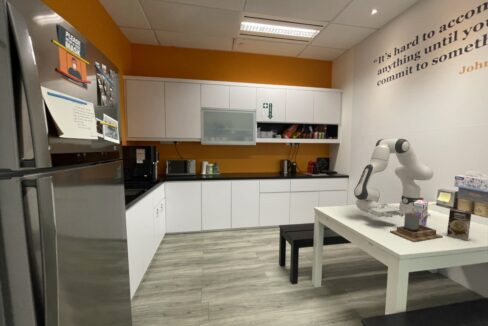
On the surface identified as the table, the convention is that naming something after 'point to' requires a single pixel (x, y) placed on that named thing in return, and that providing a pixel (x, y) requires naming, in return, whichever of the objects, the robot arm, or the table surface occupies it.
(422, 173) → the robot arm
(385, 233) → the table surface
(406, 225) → the battery cell
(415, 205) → the candy box
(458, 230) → the coffee box
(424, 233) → the walnut cell rack
